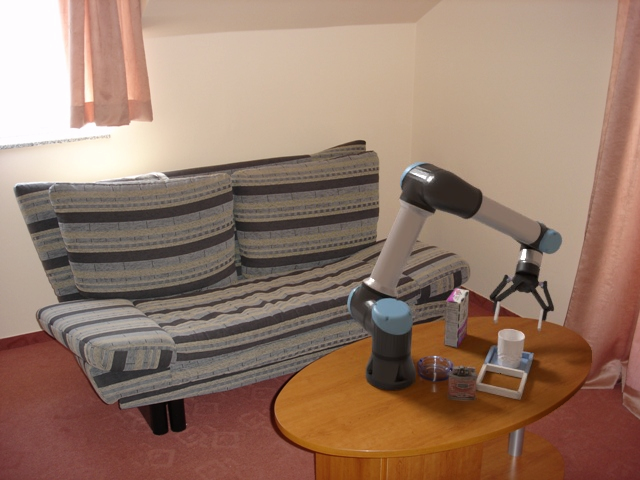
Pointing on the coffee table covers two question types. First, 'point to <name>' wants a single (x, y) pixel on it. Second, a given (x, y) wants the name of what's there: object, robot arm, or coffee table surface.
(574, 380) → the coffee table surface
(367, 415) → the coffee table surface
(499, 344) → the white cup
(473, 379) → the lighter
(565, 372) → the coffee table surface
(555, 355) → the coffee table surface
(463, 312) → the candy bar box
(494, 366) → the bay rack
